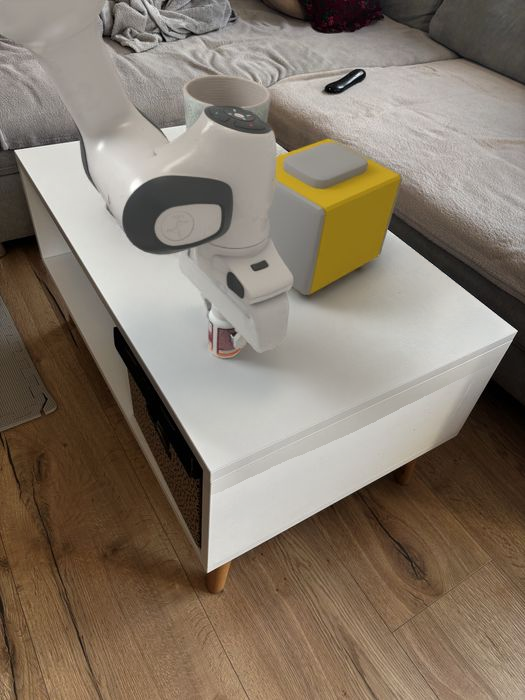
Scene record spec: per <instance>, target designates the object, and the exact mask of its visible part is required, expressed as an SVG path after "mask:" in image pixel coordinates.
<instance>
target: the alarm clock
mask: <svg viewBox="0 0 525 700" xmlns="http://www.w3.org/2000/svg"><path fill="white" fill-rule="evenodd" d="M402 183H403V177H402V174H401V173H400V172H399V171H397V170H394V169H392V168H391V167H389V166H386V165H385V164H382V163H381V162H380V161H377V160H375V159H373V158H371V157H369V156H367V155H365V154H363V153H361V151H358V150H356V149H354V148H352V147H351V146H348V145H346V144H345V143H342V142H340V141H338V140H336V139H334V138H329V137H328V138H326V139H322V140H320V141H316V142H314V143H311V144H308V145H306V146H303V147H300V148H297V149H293V150H291V151H289V152H286V153H283V154H279V155H277V163H276V180H275V190H274V197H273V201H272V204H271V206H270V208H269V211H268V218H269V223H270V232H269V238H270V239H271V240H272V242H273V244H274V246H275V248H276V250H277V252H278V254H279V256H280V257H281V259H282V260H283V262H284V263H285V265H286V266H287V268H288V269H289V270H290V272H291V274H292V276H293V285H292V287H291V288H293V289H295V290H296V291H297V292H299V293H300V294H302V295H305V296H307V295H309V296H310V295H312V294H314V293H316V292H317V291H319V290H320V289H323V288H324V287H326V286H328V285H329V284H331V283H334V282H335V281H337V280H339V279H340V278H342V277H344V276H347V275H348V274H350V273H352V272H353V271H355V270H356V269H358V268H360V267H362V266H364V265H366V264H368V263H369V262H371V261H373V260H374V259H377V258H378V257H379V256H380V255H381V253H382V250H383V246H384V244H385V239H386V237H387V233H388V230H389V226H390V222H391V219H392V215H393V213H394V209H395V206H396V203H397V199H398V195H399V192H400V190H401V189H400V188H401V186H402Z"/></svg>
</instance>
